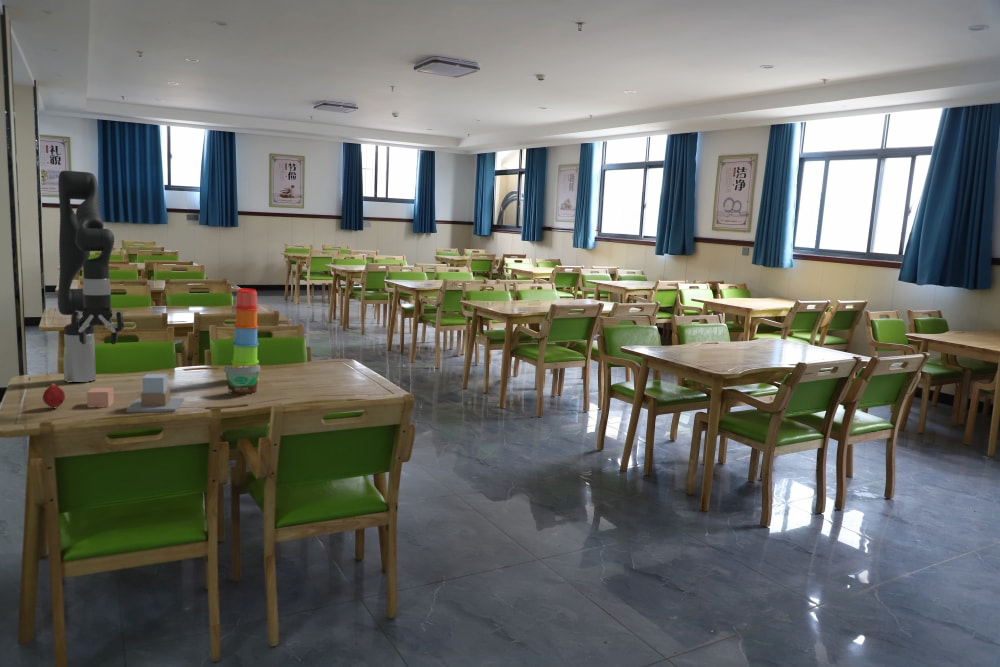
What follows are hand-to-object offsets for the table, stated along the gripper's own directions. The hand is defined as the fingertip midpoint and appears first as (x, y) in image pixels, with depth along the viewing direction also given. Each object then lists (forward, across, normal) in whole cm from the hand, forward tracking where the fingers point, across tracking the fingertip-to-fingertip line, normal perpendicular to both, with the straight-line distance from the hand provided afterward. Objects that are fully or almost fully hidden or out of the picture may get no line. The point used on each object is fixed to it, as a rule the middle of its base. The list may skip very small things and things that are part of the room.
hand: (98, 343), depth 232 cm
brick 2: (+15, +17, -3) cm, 23 cm away
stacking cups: (+20, +40, +35) cm, 57 cm away
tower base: (+20, +17, -3) cm, 26 cm away
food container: (+20, +42, +13) cm, 48 cm away
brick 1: (+20, 0, 0) cm, 20 cm away
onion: (+20, -12, -4) cm, 24 cm away
